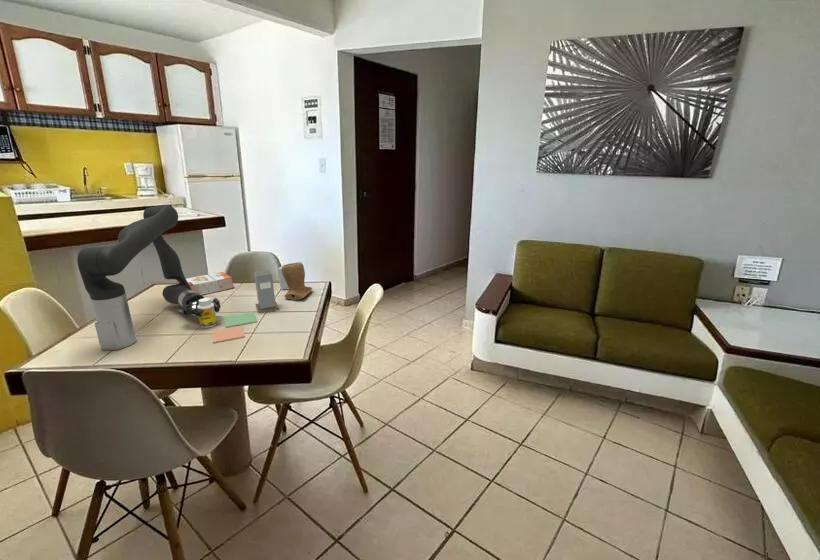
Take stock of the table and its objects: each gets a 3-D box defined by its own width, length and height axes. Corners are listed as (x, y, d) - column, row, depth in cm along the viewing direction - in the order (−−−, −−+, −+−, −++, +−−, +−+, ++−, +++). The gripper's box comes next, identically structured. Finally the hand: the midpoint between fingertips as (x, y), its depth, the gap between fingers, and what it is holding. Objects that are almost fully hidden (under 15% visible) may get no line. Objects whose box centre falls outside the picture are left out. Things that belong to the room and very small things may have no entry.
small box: (292, 290, 188) (289, 268, 185) (280, 290, 188) (277, 268, 185) (297, 284, 196) (294, 264, 193) (285, 285, 196) (283, 264, 193)
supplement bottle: (197, 328, 146) (193, 302, 143) (204, 322, 151) (200, 297, 148) (213, 328, 146) (208, 302, 143) (219, 322, 152) (215, 296, 149)
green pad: (257, 322, 151) (257, 321, 151) (225, 327, 147) (225, 326, 146) (254, 312, 161) (254, 311, 161) (224, 317, 156) (224, 316, 156)
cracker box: (232, 276, 190) (184, 286, 177) (234, 288, 192) (186, 299, 178) (222, 270, 200) (175, 279, 187) (224, 282, 202) (178, 292, 188)
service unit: (279, 310, 163) (274, 274, 159) (258, 313, 160) (253, 277, 155) (275, 303, 171) (271, 269, 166) (255, 306, 167) (251, 271, 163)
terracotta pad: (244, 337, 138) (244, 336, 138) (213, 343, 134) (212, 342, 134) (242, 327, 147) (242, 325, 147) (212, 332, 143) (212, 331, 143)
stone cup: (290, 290, 188) (287, 259, 184) (315, 290, 187) (312, 259, 182) (277, 301, 173) (273, 267, 169) (303, 301, 172) (300, 268, 168)
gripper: (170, 297, 150) (186, 307, 139) (209, 288, 160) (227, 297, 149) (173, 315, 153) (189, 327, 142) (212, 305, 163) (230, 316, 152)
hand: (209, 311), depth 146 cm, fingers closed on supplement bottle, 5 cm apart
